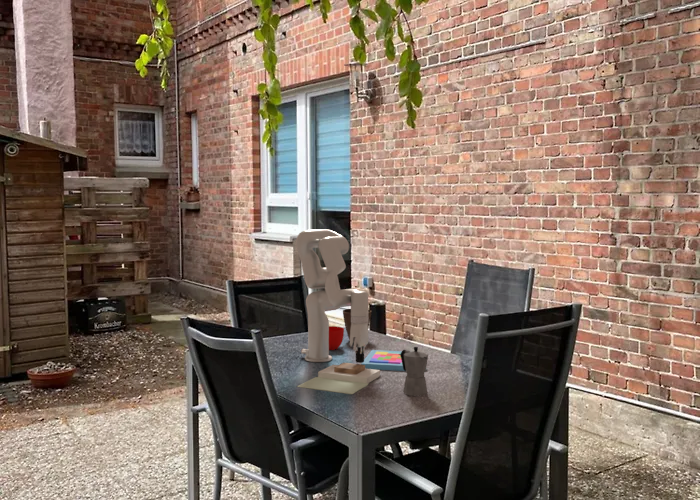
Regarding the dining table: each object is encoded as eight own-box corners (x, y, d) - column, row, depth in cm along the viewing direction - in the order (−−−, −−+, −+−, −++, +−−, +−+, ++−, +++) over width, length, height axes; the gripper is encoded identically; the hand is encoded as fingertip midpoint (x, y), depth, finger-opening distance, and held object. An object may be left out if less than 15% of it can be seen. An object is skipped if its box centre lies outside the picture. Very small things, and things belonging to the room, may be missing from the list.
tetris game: (361, 369, 306) (425, 373, 301) (361, 363, 306) (425, 366, 301) (371, 355, 334) (430, 358, 328) (371, 349, 334) (430, 352, 328)
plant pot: (371, 344, 357) (371, 313, 355) (342, 344, 357) (342, 313, 356) (370, 338, 371) (371, 308, 370) (342, 338, 372) (343, 308, 370)
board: (318, 377, 291) (318, 371, 290) (333, 370, 303) (333, 364, 303) (366, 384, 281) (366, 377, 281) (380, 376, 294) (380, 370, 294)
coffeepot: (436, 395, 266) (436, 348, 265) (417, 399, 261) (417, 351, 259) (410, 386, 279) (410, 341, 277) (391, 389, 273) (391, 344, 272)
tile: (334, 371, 291) (334, 367, 290) (343, 367, 299) (343, 362, 298) (356, 374, 286) (356, 369, 286) (365, 369, 294) (365, 364, 294)
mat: (297, 386, 276) (297, 386, 276) (316, 377, 291) (316, 376, 291) (352, 394, 266) (352, 393, 266) (368, 384, 281) (368, 383, 281)
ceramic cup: (352, 346, 352) (352, 326, 351) (335, 352, 337) (335, 332, 336) (330, 343, 358) (330, 324, 358) (312, 349, 344) (312, 329, 343)
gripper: (358, 316, 308) (359, 358, 309) (344, 322, 294) (344, 365, 295) (374, 317, 305) (374, 359, 306) (360, 323, 291) (360, 366, 292)
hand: (359, 362), depth 301 cm, fingers closed
